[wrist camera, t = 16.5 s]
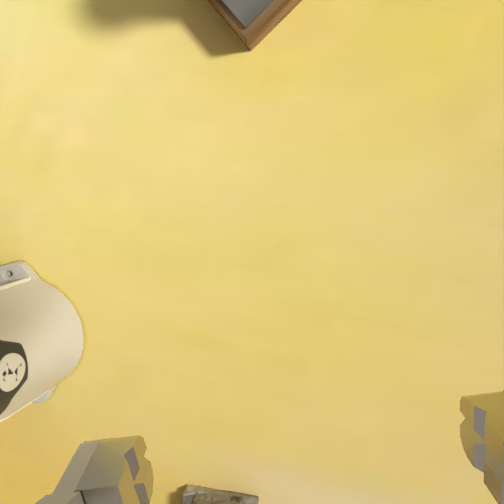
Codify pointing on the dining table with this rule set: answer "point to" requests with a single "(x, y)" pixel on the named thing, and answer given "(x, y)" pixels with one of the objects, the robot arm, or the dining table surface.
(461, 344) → the dining table surface
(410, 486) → the dining table surface
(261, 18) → the walnut riser
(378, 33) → the dining table surface
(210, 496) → the packaged product
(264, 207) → the dining table surface
